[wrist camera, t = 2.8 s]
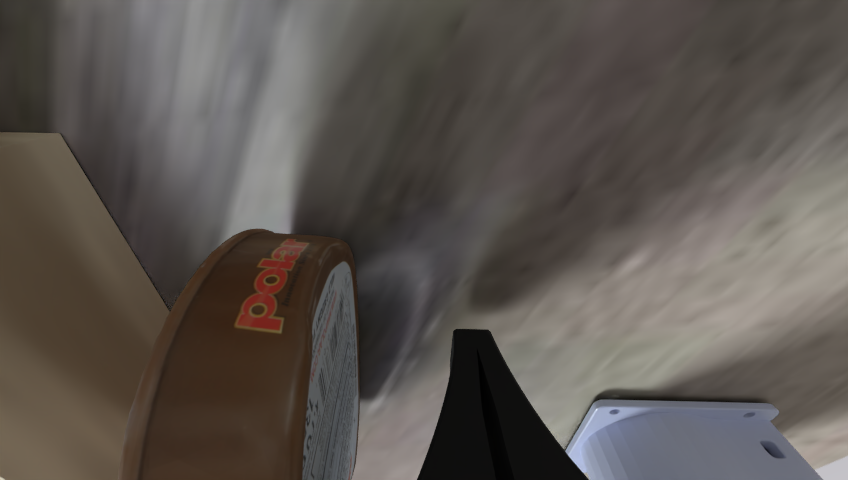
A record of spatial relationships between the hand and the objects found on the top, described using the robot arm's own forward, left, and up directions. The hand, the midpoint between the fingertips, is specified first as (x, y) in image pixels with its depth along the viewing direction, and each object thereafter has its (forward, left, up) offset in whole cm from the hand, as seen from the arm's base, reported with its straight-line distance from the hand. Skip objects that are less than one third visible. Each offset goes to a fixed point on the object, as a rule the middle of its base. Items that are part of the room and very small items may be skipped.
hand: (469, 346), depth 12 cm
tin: (+6, +2, -2) cm, 6 cm away
